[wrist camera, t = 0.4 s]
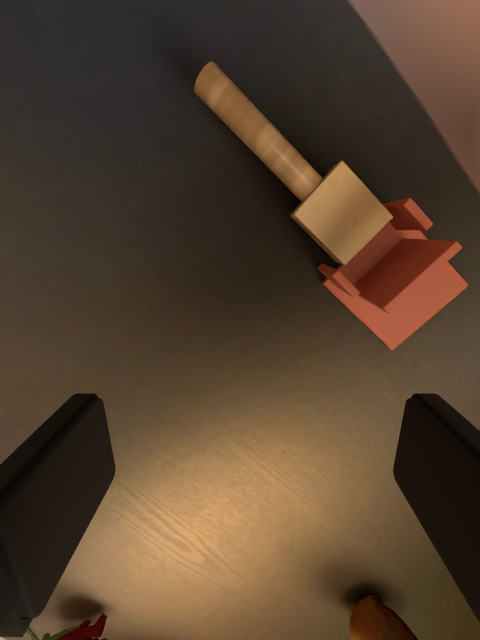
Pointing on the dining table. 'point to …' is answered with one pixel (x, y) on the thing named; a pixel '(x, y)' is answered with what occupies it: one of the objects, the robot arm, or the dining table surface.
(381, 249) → the brush stand
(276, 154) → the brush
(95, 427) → the robot arm
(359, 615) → the fruit
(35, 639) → the flower
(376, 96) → the dining table surface
